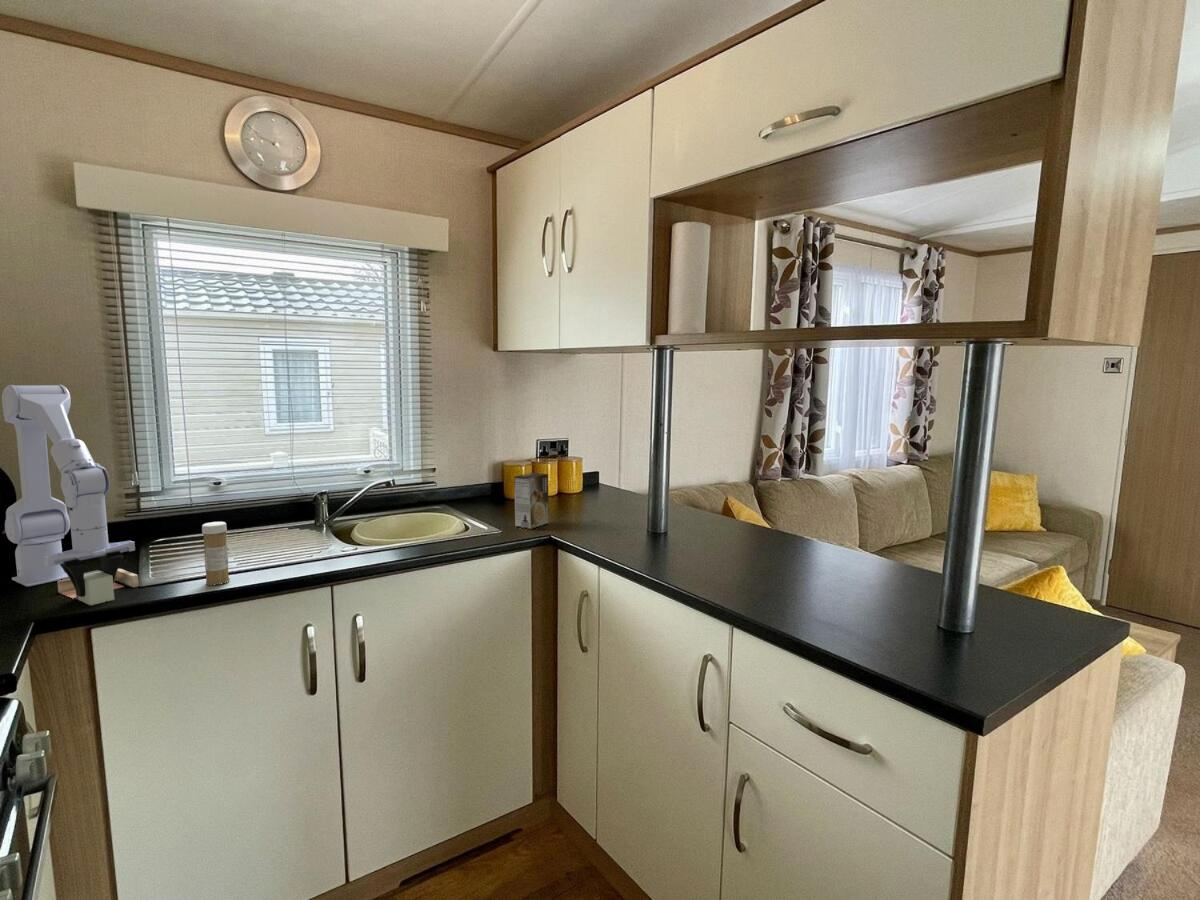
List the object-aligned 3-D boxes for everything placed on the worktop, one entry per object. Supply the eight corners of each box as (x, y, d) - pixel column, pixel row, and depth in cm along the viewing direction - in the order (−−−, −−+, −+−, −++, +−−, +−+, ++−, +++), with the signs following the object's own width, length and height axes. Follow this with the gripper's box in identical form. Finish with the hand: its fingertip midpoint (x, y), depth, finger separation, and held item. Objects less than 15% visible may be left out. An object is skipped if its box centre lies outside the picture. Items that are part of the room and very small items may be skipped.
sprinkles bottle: (212, 579, 142) (208, 521, 140) (233, 579, 142) (230, 520, 141) (201, 586, 137) (197, 525, 136) (223, 585, 138) (219, 525, 136)
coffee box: (533, 522, 201) (532, 472, 199) (549, 524, 197) (548, 473, 195) (514, 527, 193) (513, 475, 191) (530, 530, 189) (530, 477, 188)
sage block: (90, 605, 126) (88, 580, 125) (76, 598, 129) (74, 575, 129) (114, 599, 129) (112, 575, 128) (100, 593, 133) (98, 570, 132)
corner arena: (58, 592, 133) (57, 581, 133) (119, 578, 142) (118, 568, 142) (76, 600, 128) (75, 589, 128) (138, 586, 137) (137, 575, 137)
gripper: (51, 537, 119) (57, 606, 121) (139, 522, 131) (144, 586, 133) (37, 532, 123) (44, 600, 124) (124, 518, 135) (129, 580, 137)
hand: (94, 592), depth 129 cm, fingers closed on sage block, 4 cm apart
